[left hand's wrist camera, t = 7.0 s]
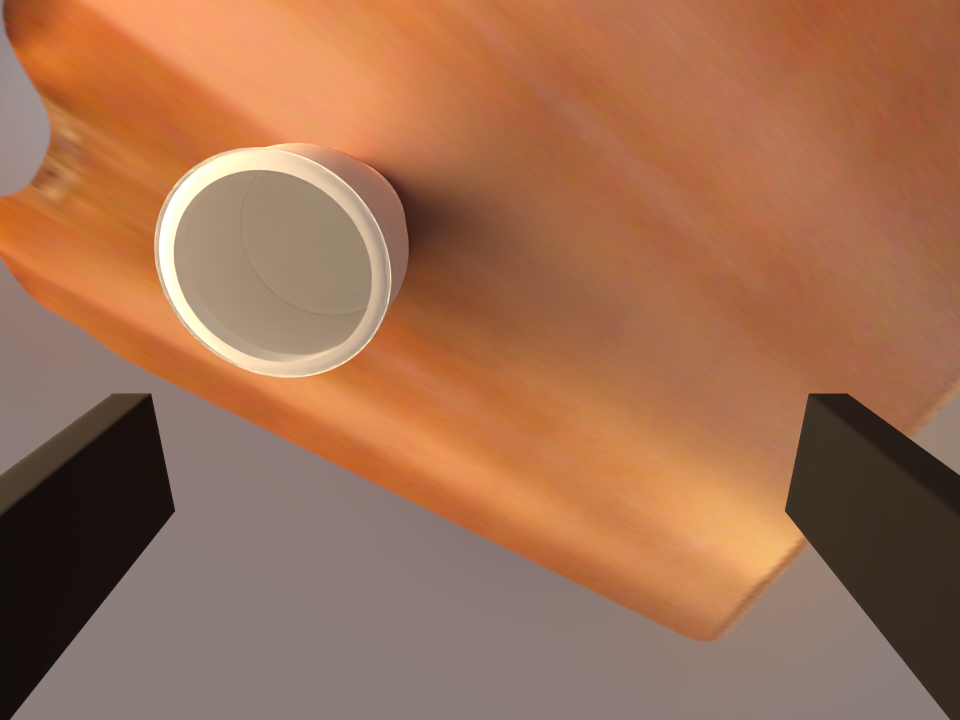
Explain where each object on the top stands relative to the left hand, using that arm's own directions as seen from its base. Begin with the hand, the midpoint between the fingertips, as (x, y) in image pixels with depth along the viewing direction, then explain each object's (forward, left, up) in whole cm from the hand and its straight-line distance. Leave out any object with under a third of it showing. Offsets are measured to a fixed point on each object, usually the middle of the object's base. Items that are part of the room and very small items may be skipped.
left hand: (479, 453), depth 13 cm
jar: (-3, -9, -31) cm, 32 cm away
